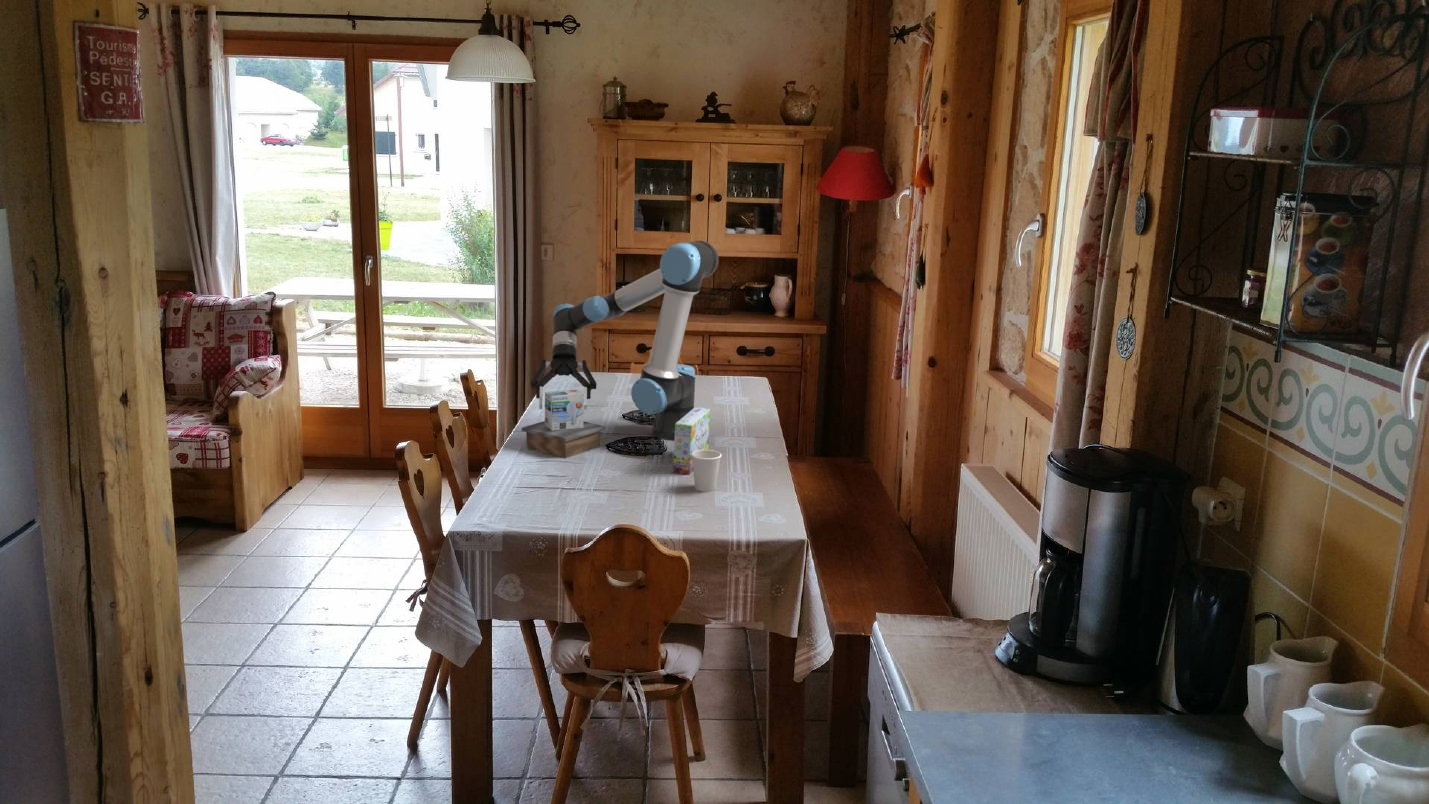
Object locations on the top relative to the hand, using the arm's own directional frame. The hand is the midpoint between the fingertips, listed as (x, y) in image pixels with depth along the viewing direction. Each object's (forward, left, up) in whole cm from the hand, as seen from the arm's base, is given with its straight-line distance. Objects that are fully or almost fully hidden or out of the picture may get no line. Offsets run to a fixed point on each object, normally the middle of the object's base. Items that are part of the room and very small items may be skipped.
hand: (563, 407), depth 330 cm
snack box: (-40, -11, -13) cm, 44 cm away
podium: (-1, 0, -13) cm, 13 cm away
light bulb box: (-1, 0, -6) cm, 6 cm away
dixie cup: (-57, +4, -13) cm, 58 cm away
